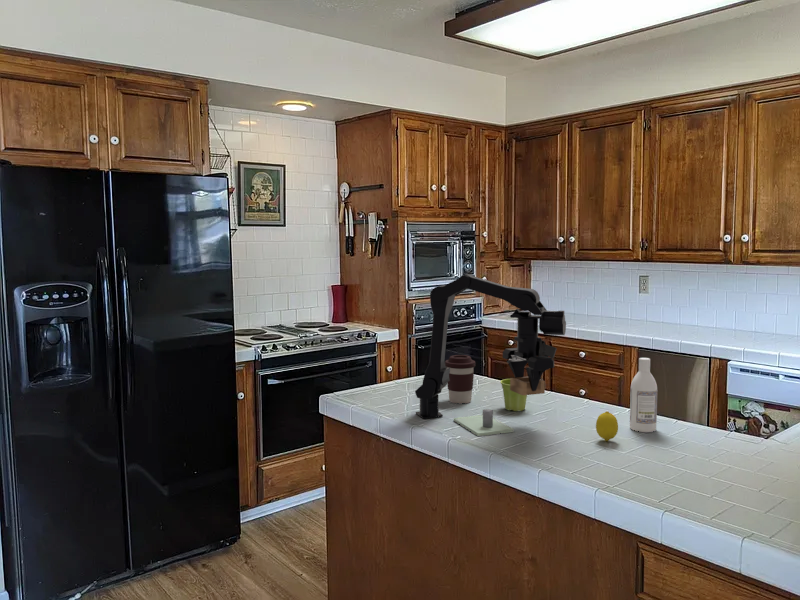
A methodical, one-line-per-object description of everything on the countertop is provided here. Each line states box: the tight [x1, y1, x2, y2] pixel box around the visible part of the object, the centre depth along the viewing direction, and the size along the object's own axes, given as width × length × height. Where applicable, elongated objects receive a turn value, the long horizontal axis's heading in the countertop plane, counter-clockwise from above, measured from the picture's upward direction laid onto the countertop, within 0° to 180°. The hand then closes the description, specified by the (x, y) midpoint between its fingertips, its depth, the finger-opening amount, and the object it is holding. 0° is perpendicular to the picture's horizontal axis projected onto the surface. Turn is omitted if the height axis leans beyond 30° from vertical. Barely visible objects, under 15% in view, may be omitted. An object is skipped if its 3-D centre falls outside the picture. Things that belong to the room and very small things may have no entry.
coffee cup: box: [444, 354, 476, 405], centre depth 209 cm, size 10×10×15 cm
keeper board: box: [453, 408, 515, 437], centre depth 181 cm, size 16×11×5 cm
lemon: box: [595, 411, 619, 442], centre depth 167 cm, size 6×6×8 cm
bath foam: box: [629, 357, 658, 433], centre depth 176 cm, size 7×7×20 cm
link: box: [509, 376, 546, 396], centre depth 181 cm, size 7×7×4 cm
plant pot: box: [500, 378, 528, 412], centre depth 200 cm, size 9×9×9 cm
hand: (527, 388), depth 181 cm, fingers closed on link, 7 cm apart
